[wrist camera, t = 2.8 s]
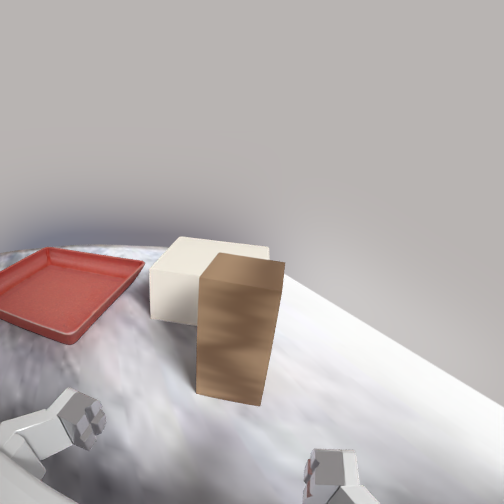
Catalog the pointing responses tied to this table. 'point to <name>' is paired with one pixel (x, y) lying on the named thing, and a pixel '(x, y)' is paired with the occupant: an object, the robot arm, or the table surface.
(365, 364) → the table surface
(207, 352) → the walnut block
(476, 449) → the table surface
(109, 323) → the table surface
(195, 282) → the plinth
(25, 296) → the plant saucer
